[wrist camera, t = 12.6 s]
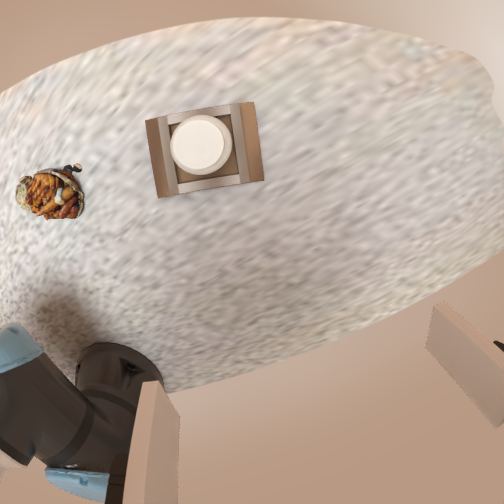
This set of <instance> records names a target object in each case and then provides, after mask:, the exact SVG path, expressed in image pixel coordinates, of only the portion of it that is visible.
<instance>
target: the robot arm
mask: <svg viewBox="0 0 504 504" xmlns="http://www.w3.org/2000/svg"><path fill="white" fill-rule="evenodd" d="M425 348H426V349H427V350H428V351H429V352H430V353H431V355H432V356H433V357H434V358H435V359H436V360H437V361H438V362H439V363H440V364H441V365H442V367H443V368H444V369H445V370H446V371H447V372H448V373H449V375H450V376H451V377H452V378H453V379H454V380H455V381H456V383H457V384H458V385H459V386H460V387H461V388H462V390H463V391H464V392H465V393H466V394H467V396H468V397H469V398H470V399H471V400H472V401H473V403H474V404H475V405H476V406H477V407H478V409H479V410H480V411H481V412H482V413H483V415H484V416H485V417H486V419H487V420H488V421H489V422H490V424H491V425H492V426H493V427H494V429H497V428H498V427H499V426H500V425H502V424H503V423H504V344H503V343H500V342H498V341H494V342H492V341H491V340H489V339H488V338H487V337H486V336H485V335H484V334H482V333H481V332H480V331H479V330H478V329H477V328H476V327H474V326H473V325H472V324H471V323H470V322H468V321H467V320H466V319H465V318H464V317H463V316H461V315H460V314H459V313H458V312H456V311H455V310H454V309H453V308H452V307H450V306H449V305H448V304H446V303H445V302H442V303H439V304H437V305H435V306H433V311H432V317H431V322H430V327H429V333H428V338H427V342H426V347H425ZM179 429H180V416H179V414H178V413H177V411H176V410H175V408H174V406H173V405H172V403H171V401H170V400H169V398H168V396H167V395H166V393H165V391H164V389H163V380H162V377H161V375H160V373H159V371H158V370H157V368H156V367H155V366H154V365H153V364H152V363H151V362H150V361H149V360H148V359H147V358H146V357H144V356H143V355H141V354H140V353H138V352H136V351H134V350H132V349H130V348H128V347H125V346H122V345H118V344H113V343H98V344H94V345H91V346H89V347H87V348H86V349H85V350H84V351H83V352H82V354H81V356H80V358H79V360H78V362H77V365H76V376H75V386H74V385H73V384H72V383H71V382H70V381H69V379H68V378H67V377H66V376H65V375H64V374H63V373H62V372H61V371H60V370H59V369H58V367H57V366H56V365H55V364H54V363H53V362H52V361H51V359H50V358H49V357H48V356H47V355H46V353H45V352H44V349H43V347H42V346H39V345H38V344H37V343H36V342H35V340H34V339H33V338H32V337H31V336H30V335H29V333H28V332H27V331H26V330H25V329H24V328H23V327H22V326H21V325H19V324H16V323H9V324H6V325H4V326H2V327H1V328H0V482H1V480H2V479H3V477H4V475H5V474H6V472H7V471H8V469H9V468H12V467H15V468H26V467H27V466H28V464H29V463H30V461H31V459H32V458H33V457H34V456H35V457H36V458H38V459H40V460H41V461H42V462H43V463H45V464H46V465H47V468H45V473H46V475H45V476H46V478H47V480H48V481H50V483H52V484H53V485H55V486H56V487H58V488H60V489H62V490H64V491H66V492H69V493H71V494H74V495H77V496H79V497H82V498H86V499H89V500H93V501H98V502H103V503H105V504H178V454H179Z"/></svg>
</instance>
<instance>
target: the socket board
mask: <svg viewBox="0 0 504 504" xmlns="http://www.w3.org/2000/svg"><path fill="white" fill-rule="evenodd" d="M196 115H209V116H213V117H215V118H217V119H219V120H220V121H222V122H223V123H224V124H225V125H226V127H227V128H228V130H229V132H230V134H231V138H232V150H231V153H230V156H229V158H228V160H227V161H226V162H225V164H224V165H223V166H222V167H221V168H219V169H218V170H216V171H214V172H212V173H210V174H205V175H195V174H191V173H188V172H186V171H184V170H182V169H181V168H180V167H179V166H178V165H177V164H176V163H175V161H174V159H173V157H172V154H171V150H170V142H171V138H172V135H173V132H174V131H175V129H176V128H177V126H178V125H179V124H180V123H181V122H183V121H184V120H186V119H187V118H189V117H192V116H196ZM145 123H146V130H147V137H148V144H149V150H150V156H151V162H152V168H153V174H154V179H155V185H156V190H157V195H158V198H162V197H167V196H172V195H177V194H182V193H188V192H193V191H199V190H205V189H211V188H217V187H223V186H229V185H236V184H242V183H249V182H256V181H264V175H263V167H262V159H261V152H260V144H259V136H258V129H257V122H256V114H255V107H254V102H247V103H238V104H230V105H223V106H216V107H210V108H204V109H198V110H192V111H187V112H182V113H177V114H172V115H167V116H162V117H158V118H154V119H150V120H145Z"/></svg>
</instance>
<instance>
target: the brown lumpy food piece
mask: <svg viewBox="0 0 504 504" xmlns="http://www.w3.org/2000/svg"><path fill="white" fill-rule="evenodd" d="M72 171H75V172H76V173H77V172H81V171H82V167H81V165H80V164H75V165H74V167H73V168H72V166H71V165H67V166H65V167H64V169H63V171H61V170H57V169H46V170H43V171H38V172H37V173H36V174H35V175H34V178H33V179H32V177H31V176H25V177H22V178H21V179H20V181H19V182H20V183H19V184H18V186H17V188H16V201H17V203H18V204H19V205H22V206H21V208H23V209H26V210H31V211H32V213H36V216H41V215H44V217H45V218H46V220H48V219H60V218H61V219H64V218H69V219H74V218H77V217H78V216H79V214H80V212H81V211H82V209H83V203H82V199H83V194H82V192H80V190H79V188H78V185H77V184H76V182H74V181H75V180H74V179H73V178H72V177H73V176H72V175H71V174H70V173H71V172H72Z"/></svg>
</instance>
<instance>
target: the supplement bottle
mask: <svg viewBox="0 0 504 504" xmlns="http://www.w3.org/2000/svg"><path fill="white" fill-rule="evenodd" d="M170 150H171V154H172V157H173V159H174V161H175V163H176V164H177V165H178V166H179V167H180V168H181V169H182V170H184V171H186V172H188V173H191V174H195V175H205V174H210V173H212V172H214V171H216V170H218V169H219V168H221V167H222V166H223V165H224V164H225V162H226V161H227V160H228V158H229V156H230V153H231V150H232V138H231V134H230V132H229V130H228V128H227V127H226V125H225V124H224V123H223V122H222V121H220V120H219V119H217V118H215V117H213V116H209V115H196V116H192V117H189V118H187V119H186V120H184V121H183V122H181V123H180V124H179V125H178V126H177V128H176V129H175V131H174V132H173V135H172V138H171V142H170Z"/></svg>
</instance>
